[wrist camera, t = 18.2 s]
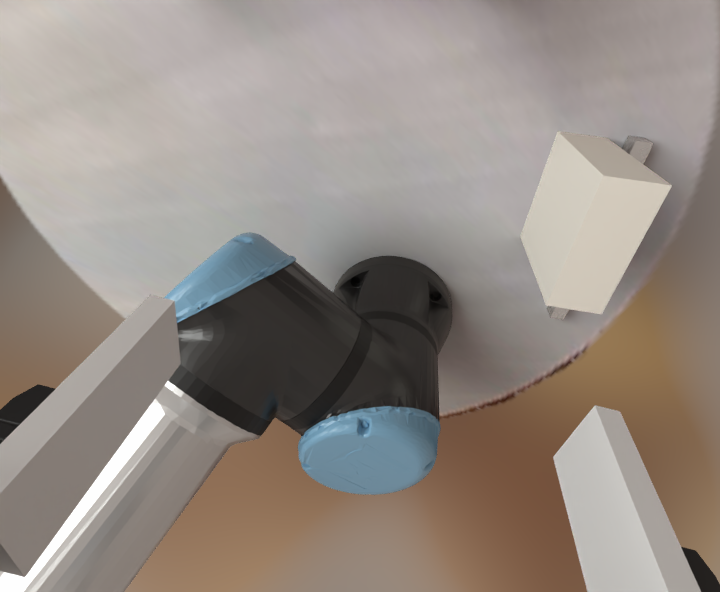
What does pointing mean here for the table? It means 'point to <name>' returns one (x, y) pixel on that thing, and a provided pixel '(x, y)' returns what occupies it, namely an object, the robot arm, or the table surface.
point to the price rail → (639, 151)
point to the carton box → (588, 220)
